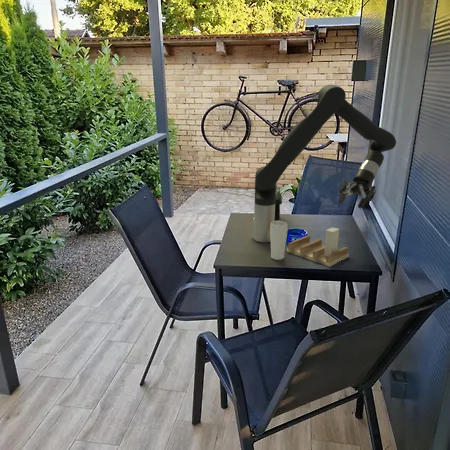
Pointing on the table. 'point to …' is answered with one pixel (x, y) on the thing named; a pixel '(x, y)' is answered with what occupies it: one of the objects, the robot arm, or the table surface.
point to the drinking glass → (278, 239)
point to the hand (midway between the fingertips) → (349, 205)
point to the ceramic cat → (277, 204)
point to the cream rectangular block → (331, 241)
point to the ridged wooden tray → (315, 251)
